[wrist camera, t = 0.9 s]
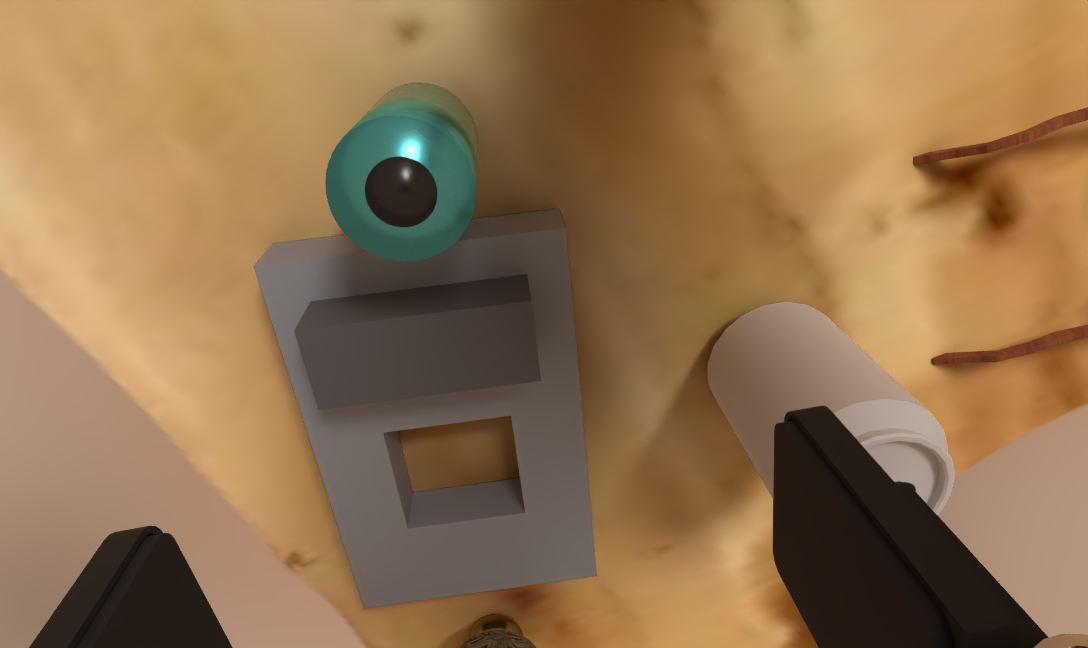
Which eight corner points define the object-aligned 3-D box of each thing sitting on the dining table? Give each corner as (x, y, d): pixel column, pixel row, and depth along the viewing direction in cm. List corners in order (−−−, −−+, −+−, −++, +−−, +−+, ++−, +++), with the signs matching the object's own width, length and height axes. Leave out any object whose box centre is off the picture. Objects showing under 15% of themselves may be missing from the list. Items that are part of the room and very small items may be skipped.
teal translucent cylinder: (355, 89, 29) (307, 126, 21) (468, 76, 29) (463, 107, 21) (379, 199, 31) (344, 270, 23) (483, 187, 31) (485, 253, 23)
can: (738, 431, 39) (834, 594, 29) (678, 344, 36) (761, 489, 26) (851, 365, 38) (997, 510, 27) (799, 268, 35) (940, 389, 24)
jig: (272, 243, 32) (230, 293, 26) (559, 208, 32) (574, 250, 27) (371, 569, 42) (355, 653, 36) (589, 539, 42) (605, 617, 37)
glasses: (1150, 283, 38) (1240, 322, 33) (927, 360, 39) (985, 407, 34) (1169, 52, 32) (1281, 62, 27) (906, 151, 33) (972, 175, 29)
